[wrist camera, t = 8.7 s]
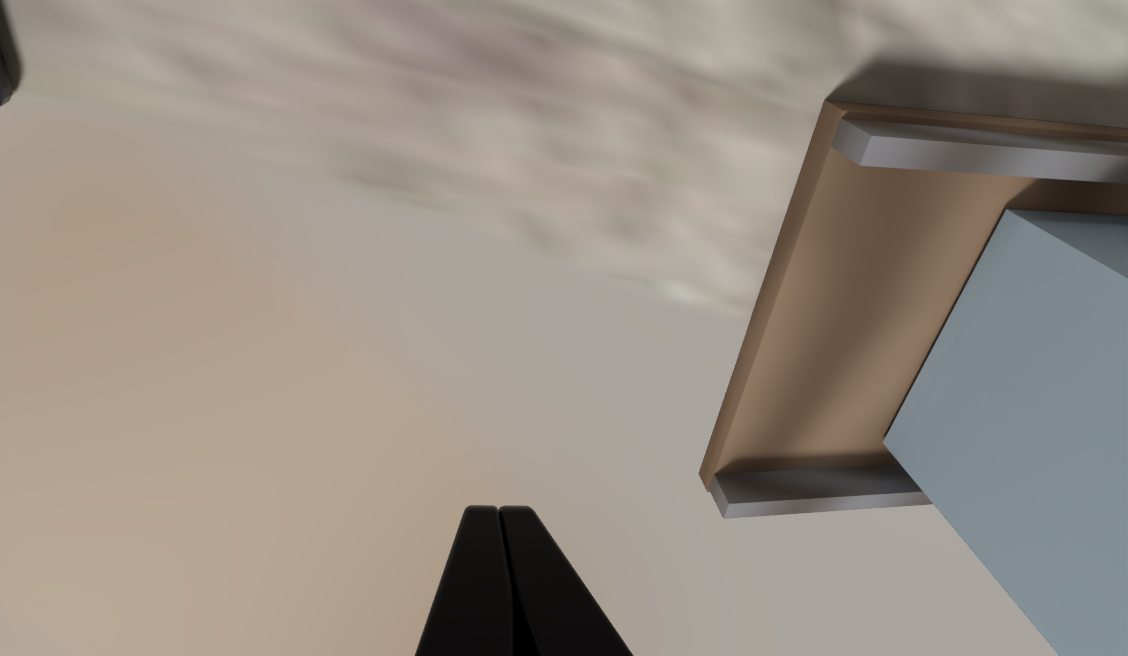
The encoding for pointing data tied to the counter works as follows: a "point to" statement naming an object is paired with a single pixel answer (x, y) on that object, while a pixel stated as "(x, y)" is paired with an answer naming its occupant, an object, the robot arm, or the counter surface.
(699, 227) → the counter surface
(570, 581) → the robot arm
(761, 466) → the brown wooden tray
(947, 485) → the box
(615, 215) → the counter surface
